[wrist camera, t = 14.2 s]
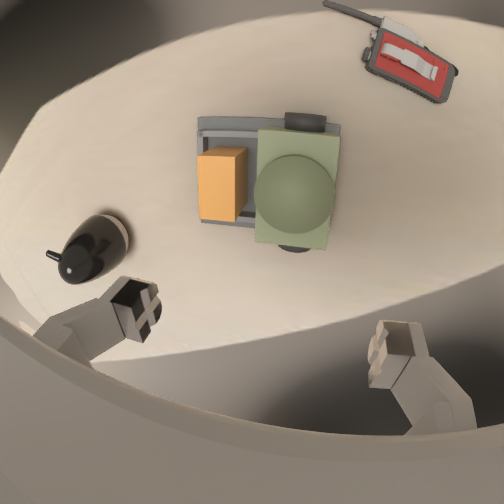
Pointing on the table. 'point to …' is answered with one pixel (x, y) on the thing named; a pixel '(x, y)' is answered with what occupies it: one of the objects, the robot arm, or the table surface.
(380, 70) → the walkie-talkie
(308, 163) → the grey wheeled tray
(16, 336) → the robot arm
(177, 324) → the table surface
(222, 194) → the orange cardboard box
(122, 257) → the pump dispenser
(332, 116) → the table surface
